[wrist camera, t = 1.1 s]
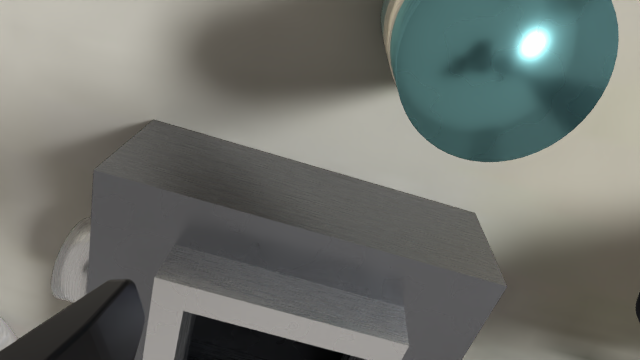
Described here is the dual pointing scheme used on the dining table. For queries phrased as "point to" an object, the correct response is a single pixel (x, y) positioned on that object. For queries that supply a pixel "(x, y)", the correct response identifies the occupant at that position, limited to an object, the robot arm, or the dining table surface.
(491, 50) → the metal can
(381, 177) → the dining table surface
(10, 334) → the ramekin
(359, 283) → the grey hollow block
